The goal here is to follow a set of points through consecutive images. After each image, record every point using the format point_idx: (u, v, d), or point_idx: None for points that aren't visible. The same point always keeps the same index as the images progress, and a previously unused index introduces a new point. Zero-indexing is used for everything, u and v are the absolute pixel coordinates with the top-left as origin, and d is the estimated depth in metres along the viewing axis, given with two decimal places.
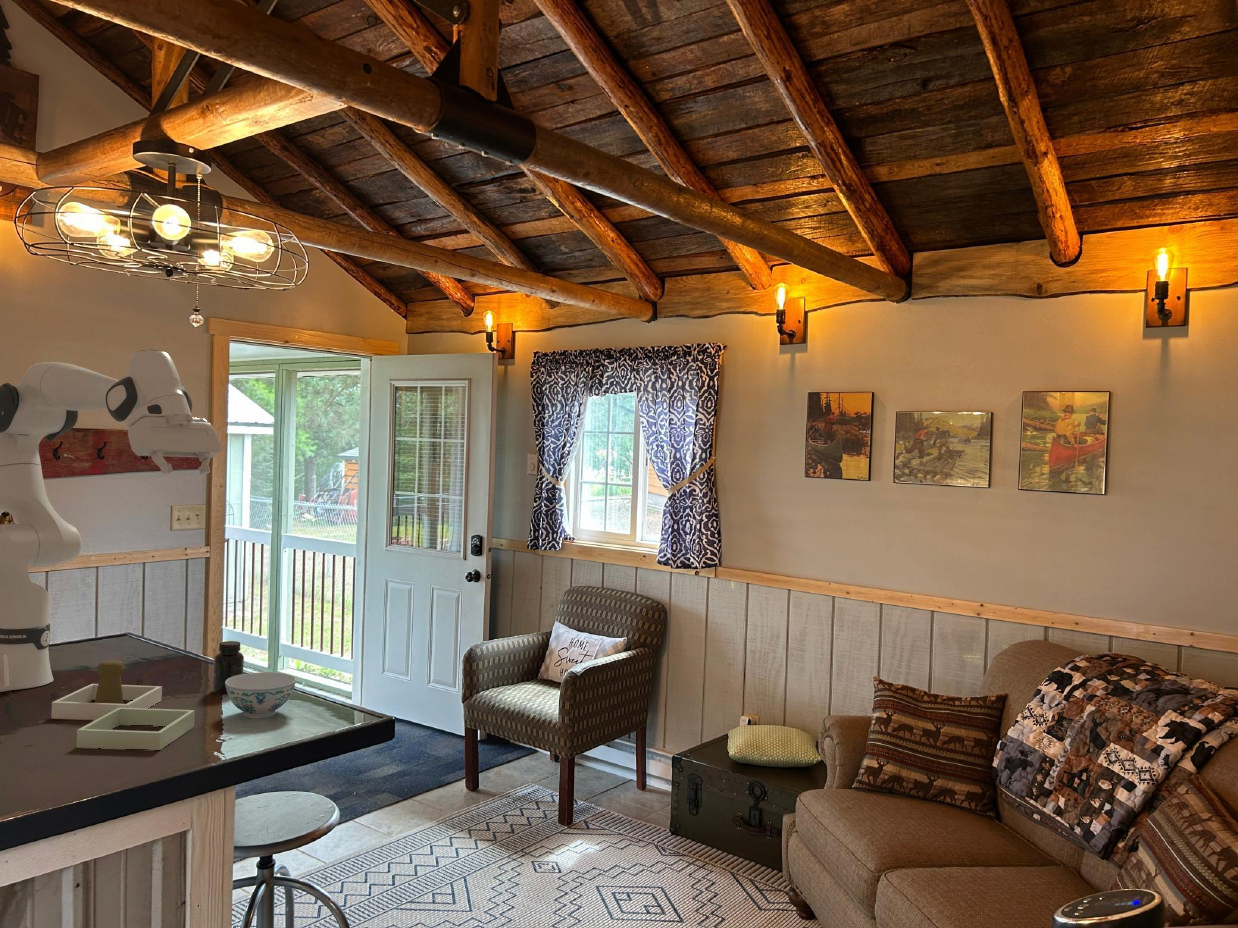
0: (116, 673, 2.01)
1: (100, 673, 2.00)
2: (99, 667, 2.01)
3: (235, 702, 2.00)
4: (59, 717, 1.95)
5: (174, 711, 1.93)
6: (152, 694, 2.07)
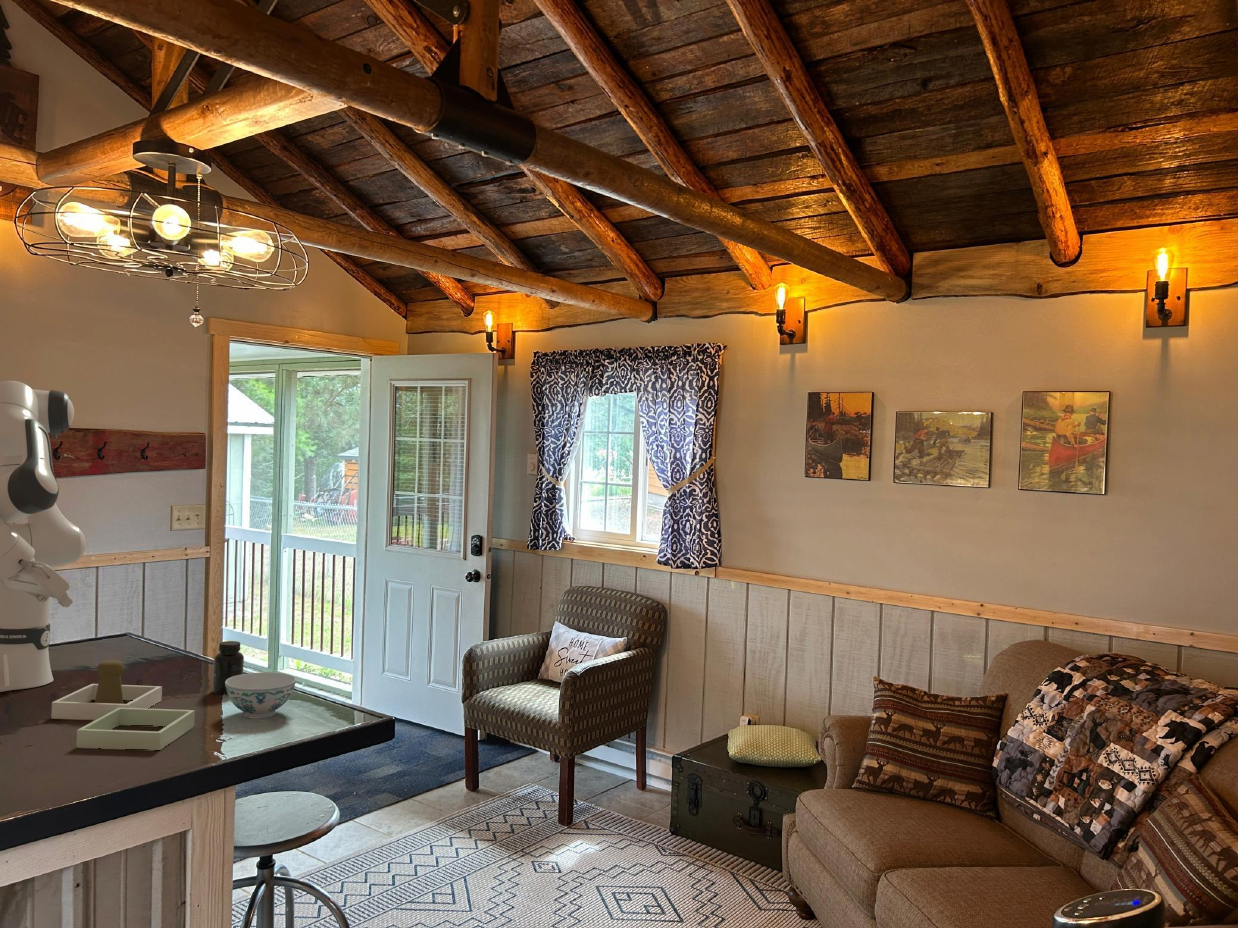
0: (116, 673, 2.01)
1: (100, 673, 2.00)
2: (99, 667, 2.01)
3: (235, 702, 2.00)
4: (59, 717, 1.95)
5: (174, 711, 1.93)
6: (152, 694, 2.07)
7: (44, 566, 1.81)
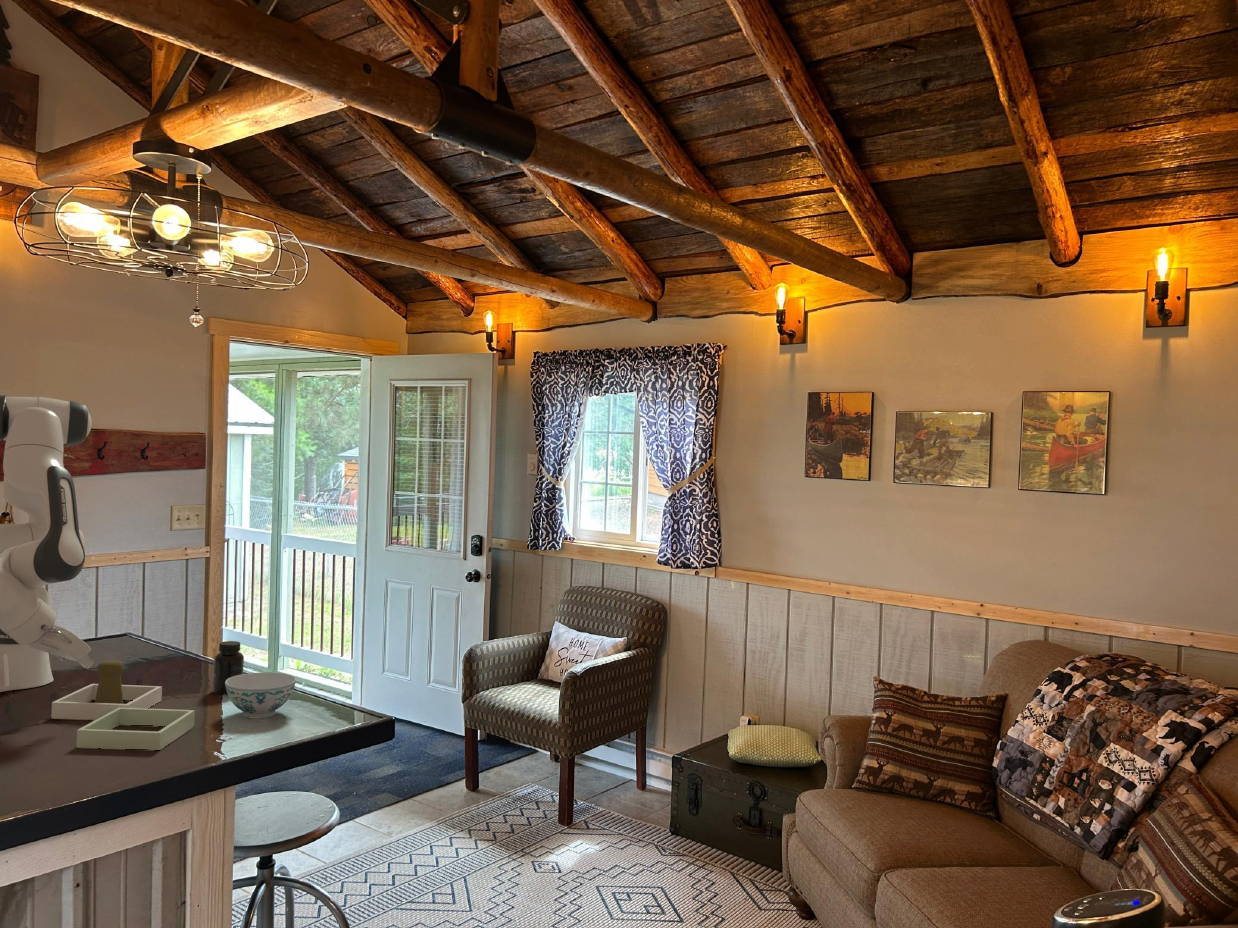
0: (115, 673, 2.01)
1: (100, 673, 2.00)
2: (99, 667, 2.01)
3: (235, 702, 2.00)
4: (59, 717, 1.95)
5: (174, 711, 1.93)
6: (152, 694, 2.07)
7: (66, 631, 1.86)
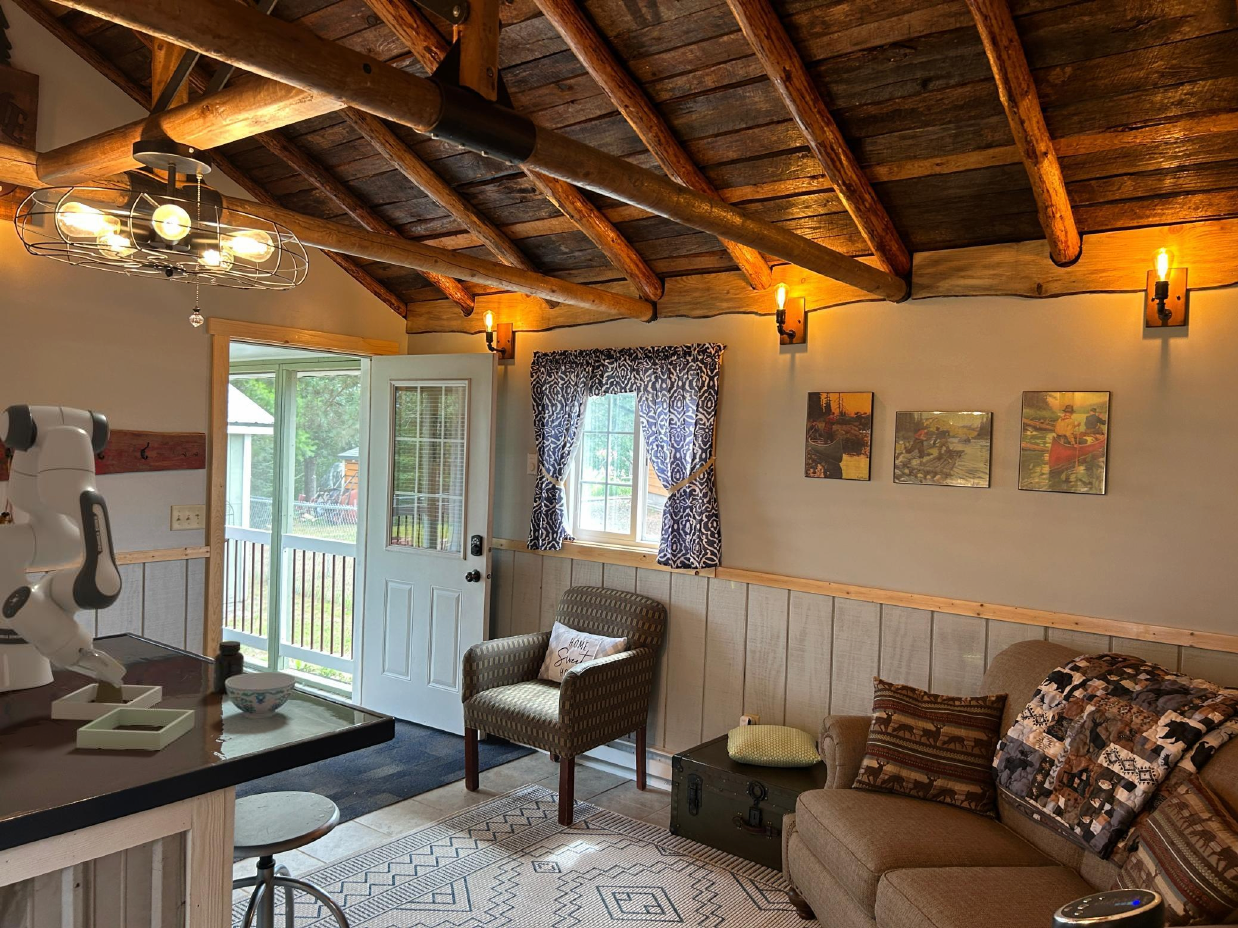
0: None
1: None
2: None
3: (235, 702, 2.00)
4: (59, 717, 1.95)
5: (174, 711, 1.93)
6: (152, 694, 2.07)
7: (102, 654, 1.92)
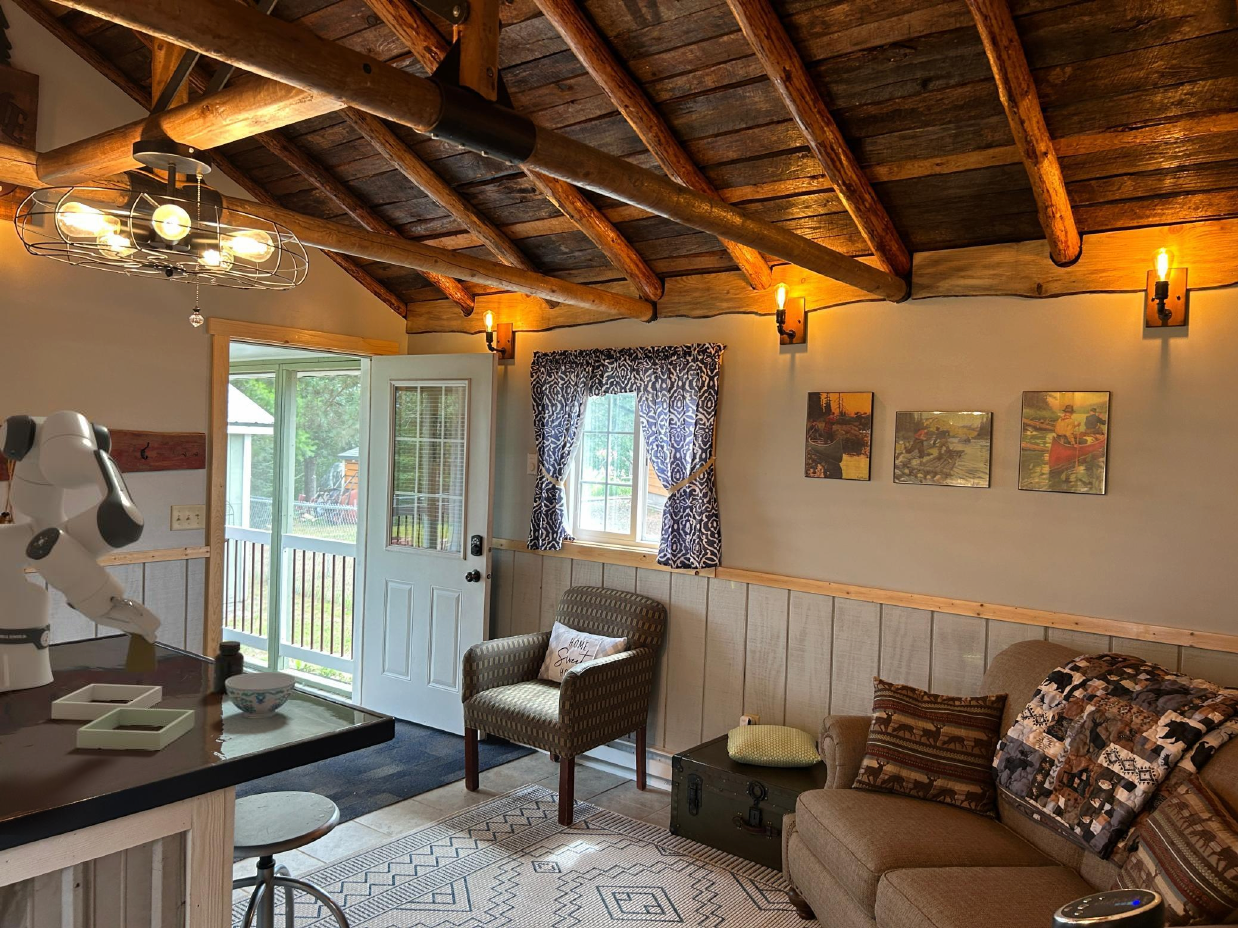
0: None
1: None
2: None
3: (235, 702, 2.00)
4: (59, 717, 1.95)
5: (174, 711, 1.93)
6: (152, 694, 2.07)
7: (136, 603, 1.75)
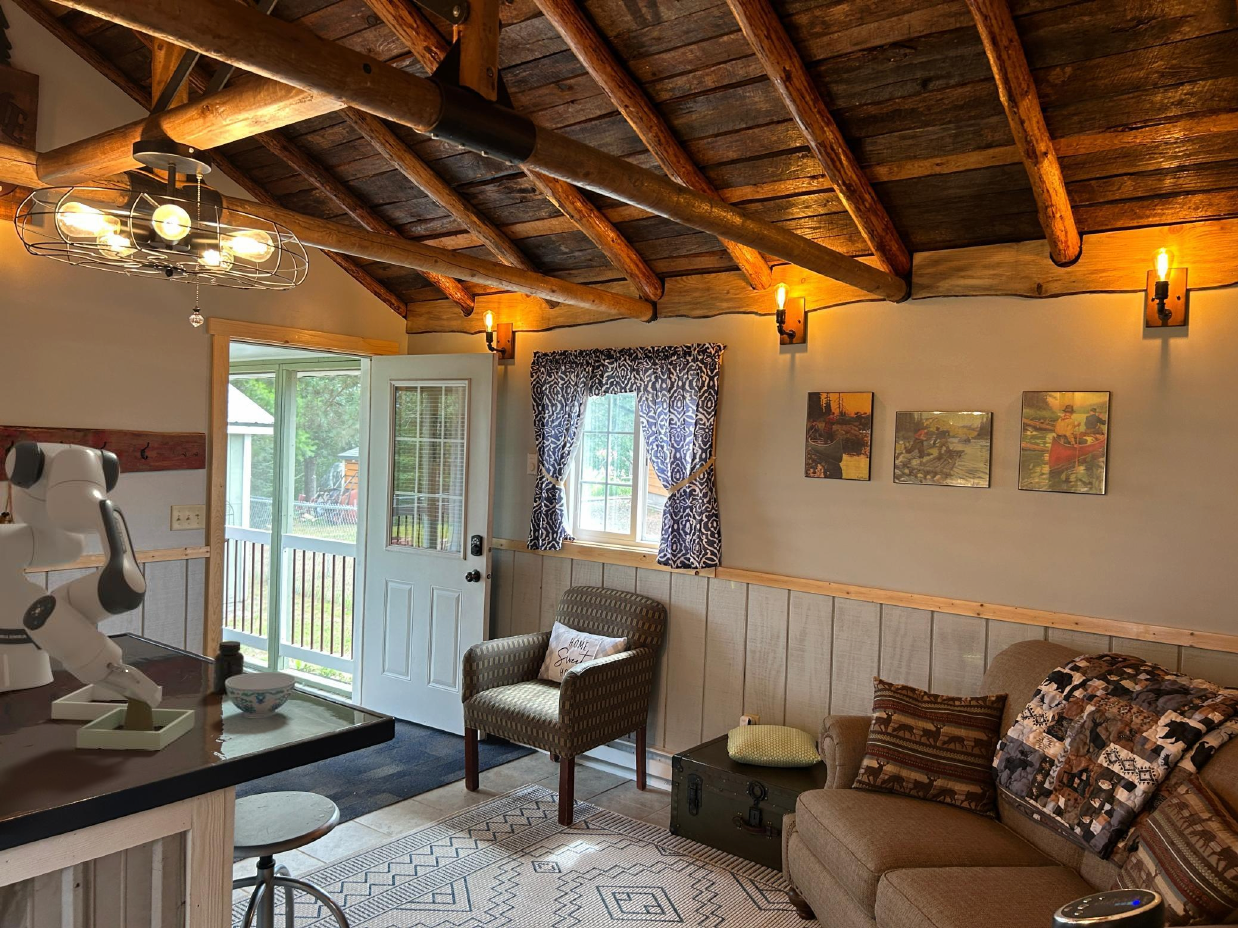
0: None
1: (129, 697, 1.83)
2: None
3: (235, 702, 2.00)
4: (59, 717, 1.95)
5: (174, 711, 1.93)
6: None
7: (133, 670, 1.75)
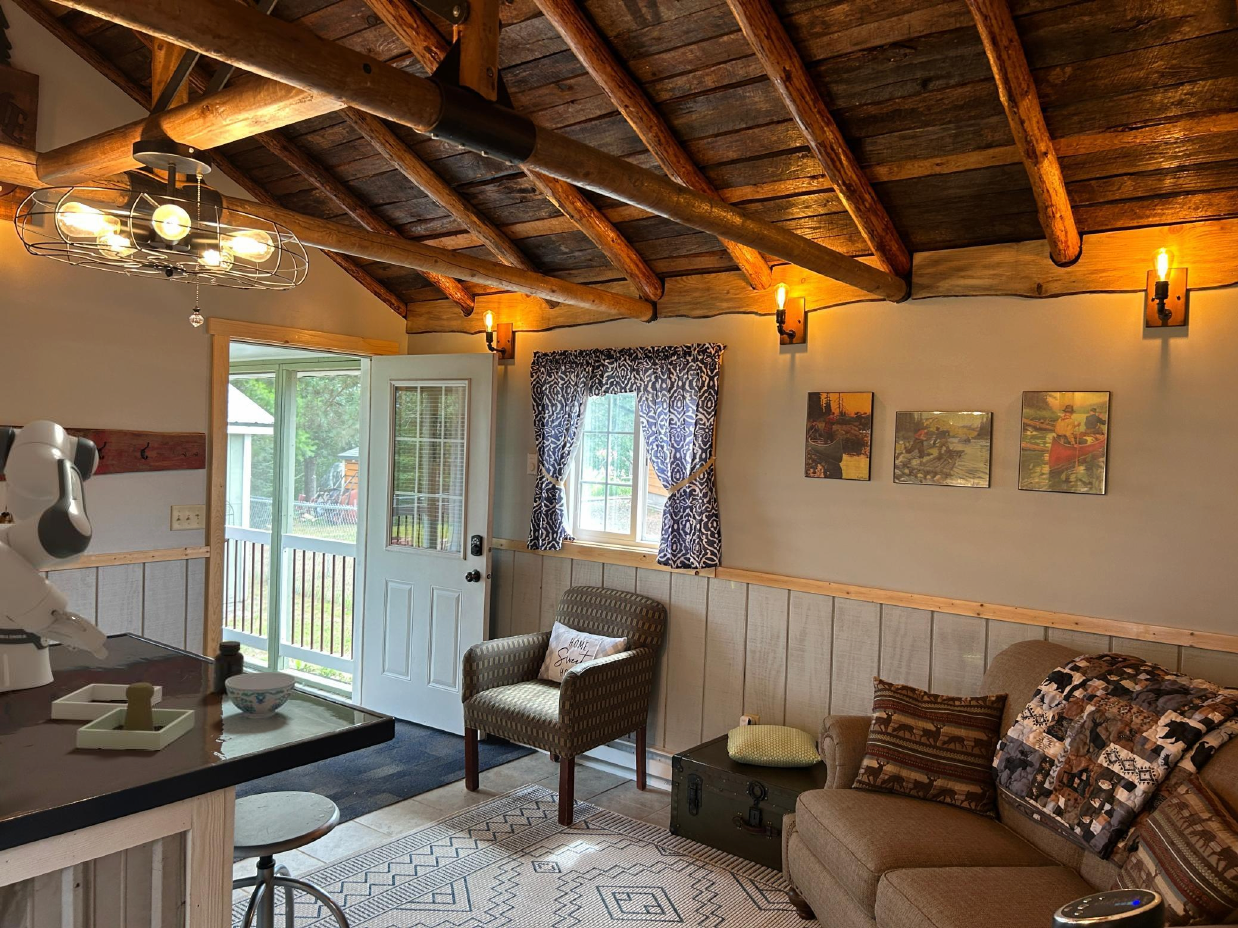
0: (146, 697, 1.84)
1: (129, 697, 1.83)
2: (128, 691, 1.83)
3: (235, 702, 2.00)
4: (59, 717, 1.95)
5: (174, 711, 1.93)
6: None
7: (79, 618, 1.66)
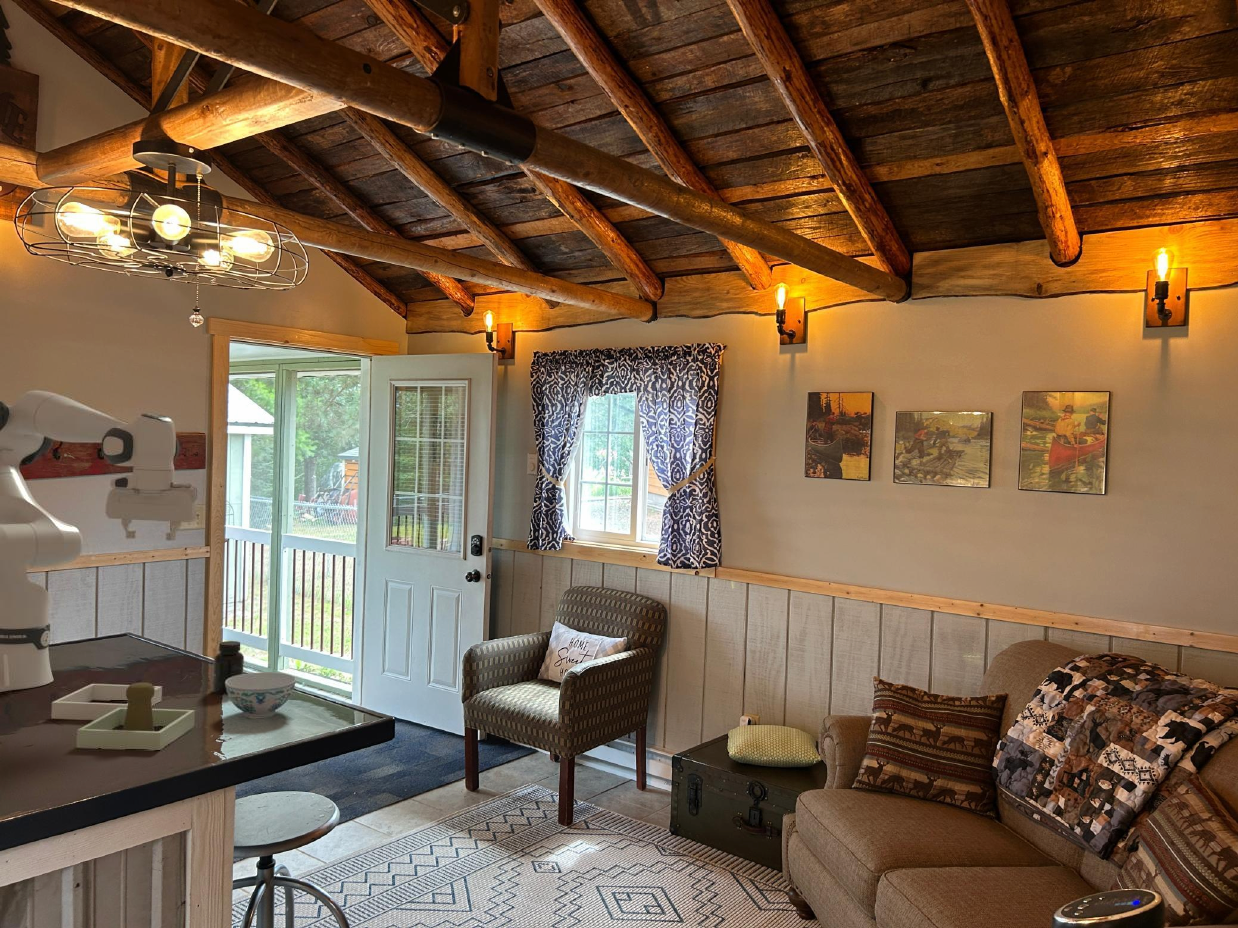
0: (146, 697, 1.84)
1: (129, 697, 1.83)
2: (128, 691, 1.83)
3: (235, 702, 2.00)
4: (59, 717, 1.95)
5: (174, 711, 1.93)
6: None
7: None
